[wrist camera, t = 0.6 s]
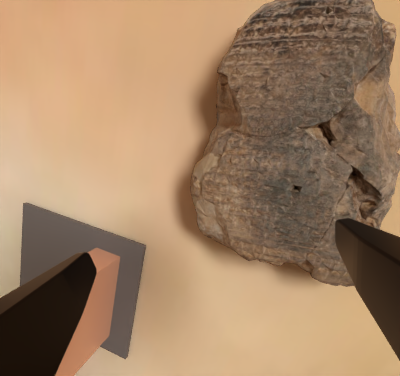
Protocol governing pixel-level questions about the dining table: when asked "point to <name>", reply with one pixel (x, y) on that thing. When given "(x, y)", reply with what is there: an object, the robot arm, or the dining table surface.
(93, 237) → the mat
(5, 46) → the dining table surface
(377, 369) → the dining table surface
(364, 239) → the robot arm
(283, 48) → the grey rough flat stone
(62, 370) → the tile
